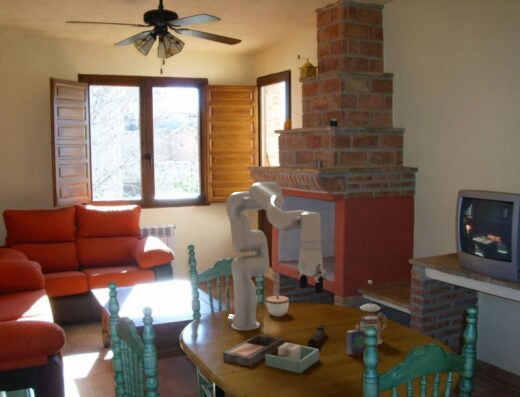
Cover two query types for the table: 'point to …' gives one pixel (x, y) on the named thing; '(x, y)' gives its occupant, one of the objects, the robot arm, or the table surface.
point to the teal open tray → (293, 365)
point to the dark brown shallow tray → (252, 350)
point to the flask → (355, 341)
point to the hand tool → (316, 337)
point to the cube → (290, 351)
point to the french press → (371, 317)
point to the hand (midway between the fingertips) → (311, 290)
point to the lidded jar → (277, 305)
